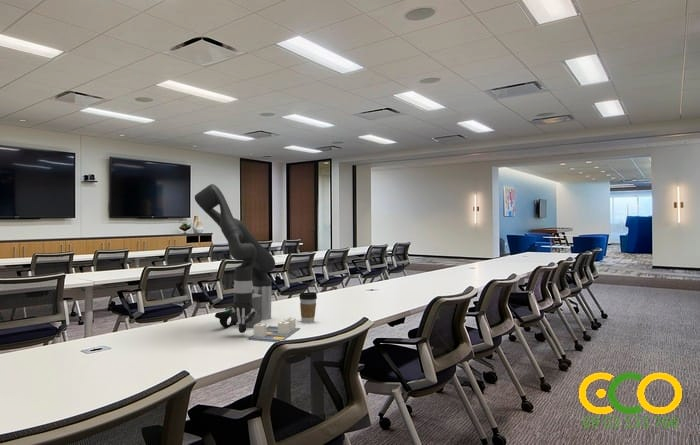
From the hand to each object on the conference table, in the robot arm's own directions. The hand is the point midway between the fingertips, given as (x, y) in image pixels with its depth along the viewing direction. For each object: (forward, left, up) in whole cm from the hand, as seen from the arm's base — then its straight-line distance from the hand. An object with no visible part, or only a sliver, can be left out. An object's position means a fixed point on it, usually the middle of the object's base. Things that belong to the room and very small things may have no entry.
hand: (242, 332), depth 185 cm
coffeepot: (-4, +18, -3) cm, 18 cm away
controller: (-14, +14, -3) cm, 20 cm away
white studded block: (+16, +13, -1) cm, 21 cm away
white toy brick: (+8, 0, -1) cm, 8 cm away
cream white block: (+16, +7, -1) cm, 17 cm away
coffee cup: (+18, +33, -3) cm, 37 cm away
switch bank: (+12, +7, -2) cm, 14 cm away
